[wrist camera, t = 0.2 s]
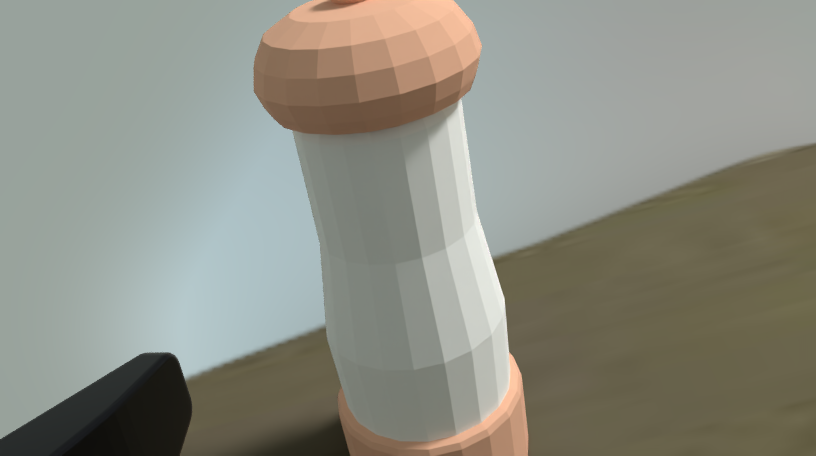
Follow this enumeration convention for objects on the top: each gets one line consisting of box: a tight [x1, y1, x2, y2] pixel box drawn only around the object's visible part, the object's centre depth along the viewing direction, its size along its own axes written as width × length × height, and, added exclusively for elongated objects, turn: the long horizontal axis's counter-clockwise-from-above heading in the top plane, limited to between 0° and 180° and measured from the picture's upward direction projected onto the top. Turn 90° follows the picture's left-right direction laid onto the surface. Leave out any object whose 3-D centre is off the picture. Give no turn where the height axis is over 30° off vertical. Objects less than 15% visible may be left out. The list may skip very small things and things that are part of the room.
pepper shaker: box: [254, 0, 528, 456], centre depth 26 cm, size 7×7×19 cm
